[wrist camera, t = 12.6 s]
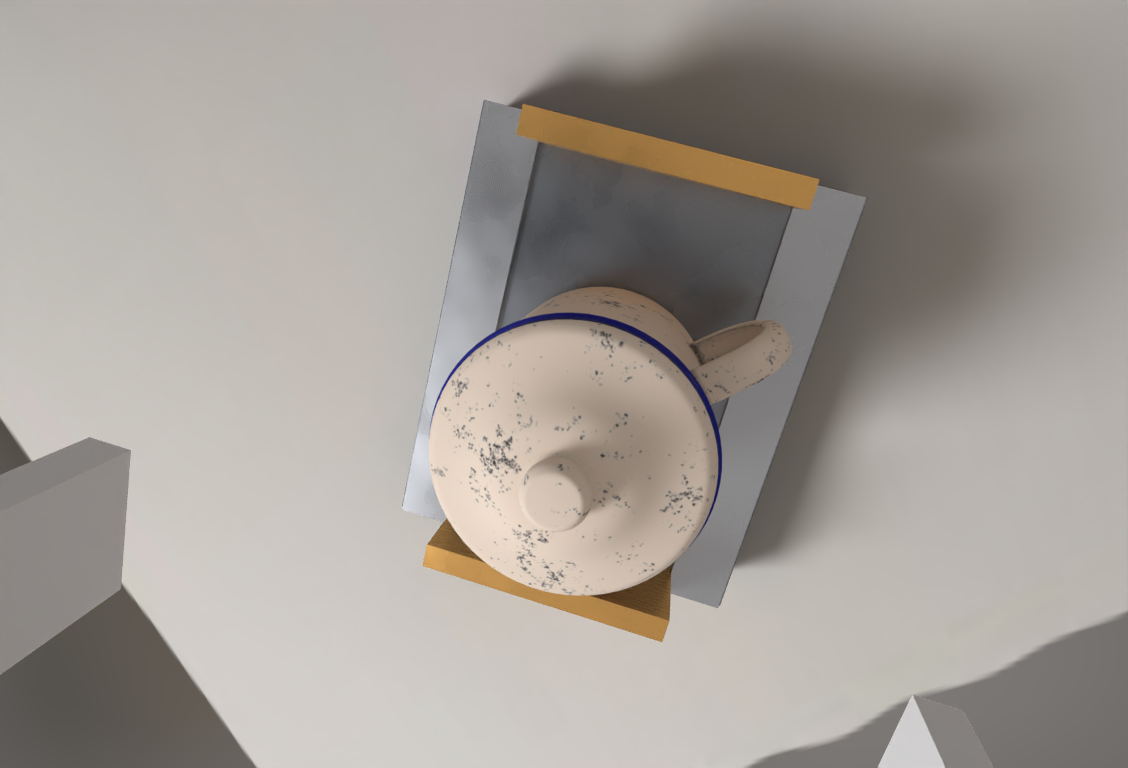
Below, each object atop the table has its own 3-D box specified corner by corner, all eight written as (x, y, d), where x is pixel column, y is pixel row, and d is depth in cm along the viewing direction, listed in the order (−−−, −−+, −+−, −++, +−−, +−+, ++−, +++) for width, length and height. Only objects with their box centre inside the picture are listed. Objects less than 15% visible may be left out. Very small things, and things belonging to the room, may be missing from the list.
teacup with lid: (557, 519, 32) (489, 692, 21) (458, 338, 31) (329, 422, 20) (816, 410, 29) (898, 546, 18) (720, 203, 28) (743, 211, 16)
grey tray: (424, 481, 36) (365, 547, 29) (502, 108, 31) (452, 85, 24) (717, 571, 35) (724, 661, 28) (849, 197, 30) (897, 199, 23)
